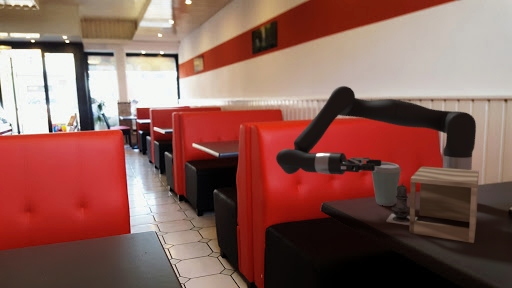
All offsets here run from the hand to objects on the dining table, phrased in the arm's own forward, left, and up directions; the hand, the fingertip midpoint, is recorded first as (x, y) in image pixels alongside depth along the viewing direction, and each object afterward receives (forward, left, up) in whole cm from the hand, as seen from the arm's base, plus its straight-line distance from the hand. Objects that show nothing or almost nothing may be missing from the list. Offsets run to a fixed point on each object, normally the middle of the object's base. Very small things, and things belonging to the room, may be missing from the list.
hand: (378, 165), depth 122 cm
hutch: (+1, +20, -17) cm, 26 cm away
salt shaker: (+1, +8, -17) cm, 19 cm away
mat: (0, +8, -17) cm, 19 cm away
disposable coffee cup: (-16, -1, -17) cm, 23 cm away
